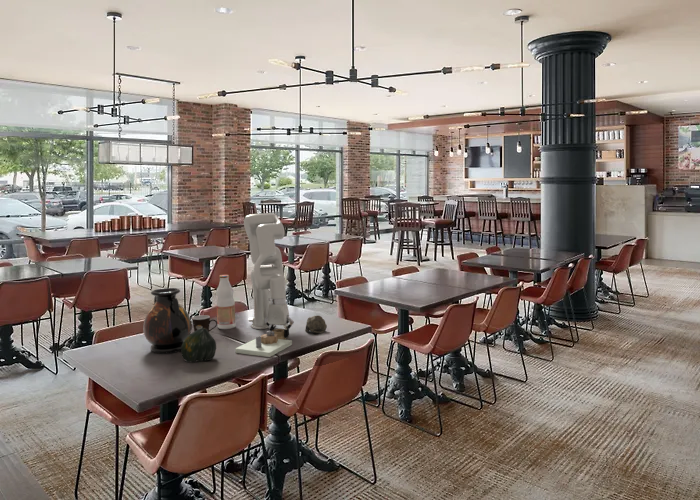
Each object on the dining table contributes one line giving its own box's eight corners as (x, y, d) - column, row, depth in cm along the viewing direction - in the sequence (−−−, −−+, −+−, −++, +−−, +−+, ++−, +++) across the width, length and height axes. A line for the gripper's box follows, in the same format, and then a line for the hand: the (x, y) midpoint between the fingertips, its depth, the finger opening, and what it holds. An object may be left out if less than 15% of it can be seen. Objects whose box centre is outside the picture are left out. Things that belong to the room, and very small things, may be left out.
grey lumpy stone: (317, 334, 279) (309, 316, 281) (305, 340, 285) (297, 322, 287) (331, 329, 288) (323, 311, 289) (319, 335, 294) (311, 317, 295)
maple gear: (269, 339, 275) (269, 331, 274) (276, 335, 281) (276, 328, 280) (282, 341, 272) (282, 333, 271) (289, 337, 278) (289, 329, 278)
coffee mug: (189, 338, 280) (188, 318, 279) (201, 333, 288) (200, 314, 286) (207, 340, 275) (206, 320, 273) (219, 336, 282) (218, 316, 281)
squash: (170, 348, 244) (184, 326, 238) (197, 341, 257) (211, 320, 250) (187, 374, 239) (202, 352, 233) (213, 365, 252) (228, 344, 245)
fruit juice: (222, 330, 293) (220, 277, 290) (214, 327, 300) (211, 275, 297) (238, 327, 299) (236, 275, 296) (230, 323, 306) (228, 273, 303)
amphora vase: (202, 347, 263) (198, 289, 260) (160, 359, 247) (156, 297, 244) (177, 339, 278) (174, 284, 274) (136, 350, 262) (131, 291, 258)
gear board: (235, 352, 255) (234, 337, 254) (259, 340, 273) (259, 326, 272) (269, 357, 247) (268, 341, 247) (292, 344, 266) (291, 329, 265)
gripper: (258, 301, 274) (260, 336, 276) (289, 304, 267) (291, 340, 269) (267, 298, 281) (268, 332, 283) (297, 300, 274) (298, 336, 276)
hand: (279, 336), depth 276 cm, fingers closed on maple gear, 7 cm apart
